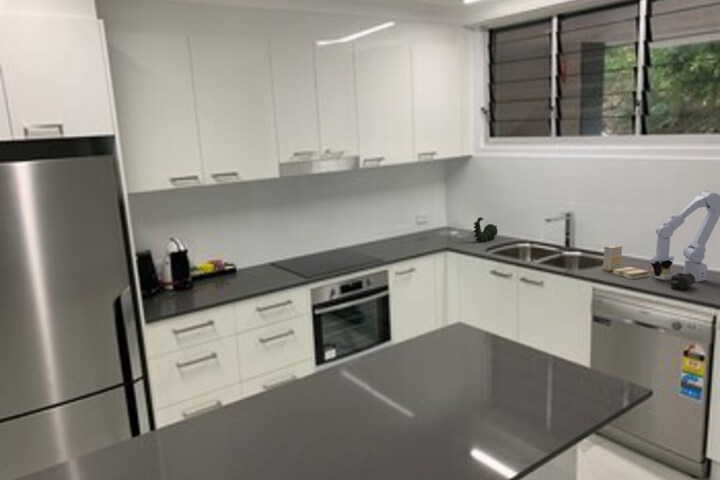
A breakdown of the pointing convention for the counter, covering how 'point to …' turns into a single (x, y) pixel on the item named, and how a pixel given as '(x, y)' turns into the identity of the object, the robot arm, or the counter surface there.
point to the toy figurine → (487, 233)
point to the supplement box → (612, 257)
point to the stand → (631, 272)
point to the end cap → (682, 281)
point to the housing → (662, 273)
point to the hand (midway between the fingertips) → (660, 275)
